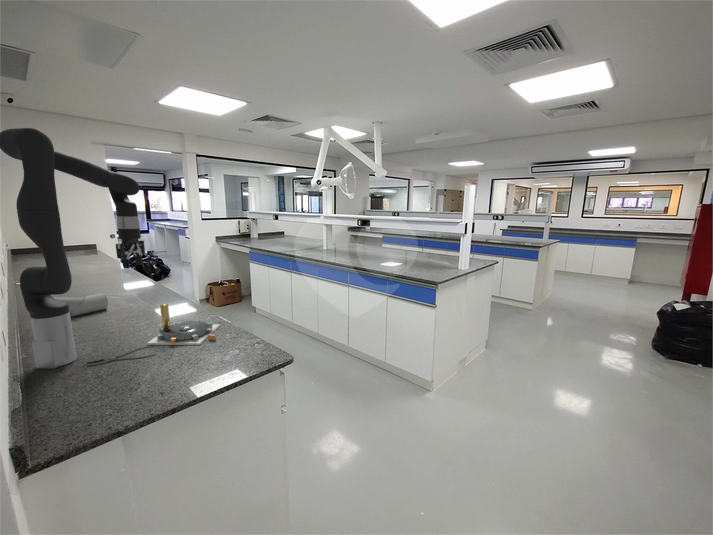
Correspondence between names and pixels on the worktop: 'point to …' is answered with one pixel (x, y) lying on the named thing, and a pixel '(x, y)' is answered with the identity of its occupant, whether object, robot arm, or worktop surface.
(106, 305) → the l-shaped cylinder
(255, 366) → the worktop surface
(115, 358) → the pliers
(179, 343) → the base plate
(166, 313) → the sprocket
